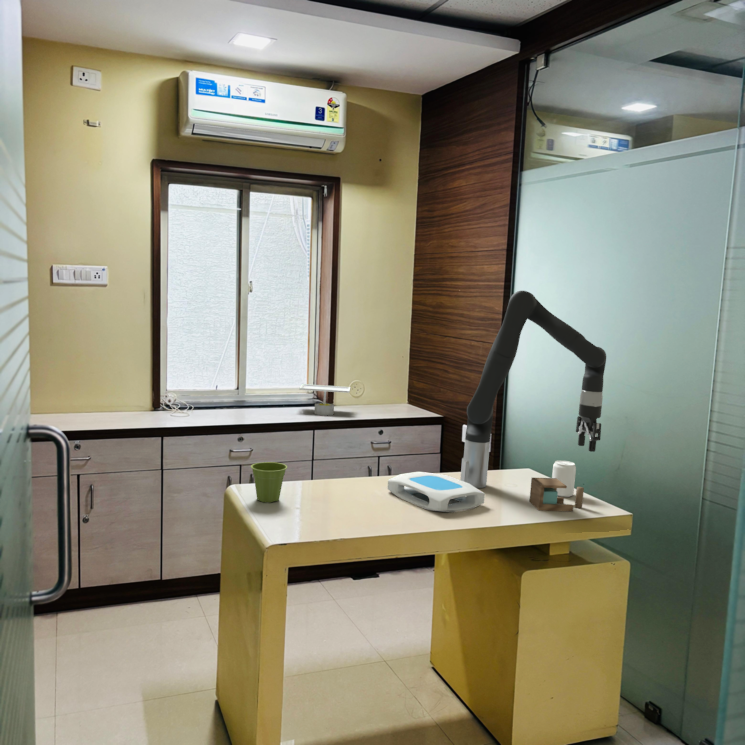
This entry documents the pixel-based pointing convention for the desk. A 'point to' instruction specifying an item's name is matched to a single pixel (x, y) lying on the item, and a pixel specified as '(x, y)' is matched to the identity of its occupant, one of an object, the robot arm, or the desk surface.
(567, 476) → the beverage can
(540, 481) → the walnut cubby
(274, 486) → the plant pot
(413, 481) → the aerobic step platform
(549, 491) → the tethered block
